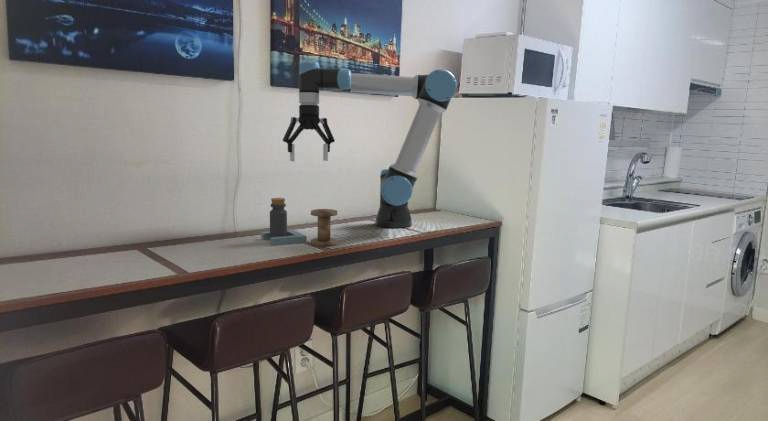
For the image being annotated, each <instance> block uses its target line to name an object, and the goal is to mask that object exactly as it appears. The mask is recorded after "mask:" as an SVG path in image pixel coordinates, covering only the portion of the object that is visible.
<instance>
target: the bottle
mask: <svg viewBox="0 0 768 421" xmlns="http://www.w3.org/2000/svg"><path fill="white" fill-rule="evenodd" d="M270 200H271V203H270V207H271V208H272V209H271V210H270V211H269V231H270V237H281V236H287V230H288V212H287V210H286V209H285V208H286V206H287V205H286V203H285V202H286V198H284V197H273V198H271V199H270Z"/></svg>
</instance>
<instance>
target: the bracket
mask: <svg viewBox="0 0 768 421" xmlns="http://www.w3.org/2000/svg"><path fill="white" fill-rule="evenodd" d="M260 236H261V237H260V238H261V240H262V241H270V242H269V243H270V245H271V246H272V247H275V246H276V247H277V246H278V247H279V246H287V245H296V244H297V245H298V244H307V243H308V242H307V238H308V236H307V235H305V234H303V233H301V232H299V231H297V230H295V229H287V236H281V237H270V230H269V231H261V233H260Z"/></svg>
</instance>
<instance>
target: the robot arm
mask: <svg viewBox="0 0 768 421" xmlns="http://www.w3.org/2000/svg"><path fill="white" fill-rule="evenodd" d="M298 66H299V68H298V103H299V106H298V115H299V116H298V117H296V116H291V117H290V123H289V125H288V127H287V129H286V132H285V133H284V136H283V138H282V142H284V143H286V144H287V152H288V153H289V162H295V143H293V142H294V141H295V140H297V138H298V136H299V135H300V134H301V133H302V132H303V131H304V130H312V131H313V130H314V131H315V132H316V133H317V134H318V136H319V137H320V138H321V140H323V142H324V143H323V144H322V145H323V146H322V147H323V148H322V152H323V153H322V154H323V155H322V157H323V158H322V159H323V160H322V161H324V162H329V161H328V160H329V159H328V158H329V153H330V152H331V144H332V143H335V140H336V139H335V138H334V136H333V133H332V131H331V129H330V127H329V125H328V124H329V123H328V119H327V117H321V118H320V106H319V104H320V89H321V90H332V91H333V92H335V93H359V94H369V95H370V94H373V95H387V96H389V95H390V96H403V97H412V98H413V99H414V100H417V101H418V104H419V106H418V108H417V110H416V113H415V115H414V118H413V120H412V122H411V125H410V127H409V130H408V131H407V134H406V136H405V139H404V141H403V144H402V146H401V148H400V151H399V153H398V155H397V158H396V160H395V163H393V164H390V165H389V167H388V169H387V168H385V169H382V170H381V171H380V175H379V177H380V185H379V186H380V189H379V191H380V192H379V207H378V210H377V214H376V216H375V220H374V221H375V223H374V224H375V226H377V227H381V228H393V229H395V228H396V229H397V228H398V229H399V228H409V227H412V225H413V224H412V223H413V222H412V221H413V220H412V217H411V214H410V213H411V212H410V210H409V200H410V199H411V198H412V196H413V189H414V187H415V184H416V182H417V180H418V174H417V170H418V167H419V165H420V162H421V160H422V158H423V156H424V154H425V151H426V148H427V146H428V144H429V143H430V142H429V141H430V139H431V137H432V135H433V132H434V129H435V127H436V124H437V122H438V121H439V118H440V115H441V114H442V113H445V112H446V111H447V109H448V107H449V105H450V102H451V101H452V100H451V99H452V98H453V97H454V96H455V94H456V92H457V88H458V82H457V79H456V77H455V76H454V74H453V73H452V72H450V71H449V70H447V69H441V68H440V69H439V68H437V69H435V70H432V71H431V72H430V73H429V74H416V75H415V76H404V75H403V76H399V75H389V74H387V75H386V74H384V75H383V74H373V73H371V74H369V73H358V72H357V73H354V72H352V71H351V69H347V68H321V67H320V64H319V62H314V61H313V62H312V61H303V62H300V64H299V65H298ZM297 123H298V124H299V125H298V127H297V128H296V130H295V131H294V129H295V126H296V124H297ZM319 123H320V124H321V126H322V128H323V130H324V131H323V130H322V129H321V126H320V125H319ZM293 131H294V132H293ZM292 133H293V134H292Z"/></svg>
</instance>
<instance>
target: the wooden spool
mask: <svg viewBox="0 0 768 421" xmlns="http://www.w3.org/2000/svg"><path fill="white" fill-rule="evenodd" d="M310 215H311V216H313V217H317V237H315V238H314V237H313V238H311V239H310V245H311V246H315V247H333V246H336V245H337V244H338V239H337V238H333V237H331V220H332V219H331V218H332V217H336V216H337V215H338V210H337V209H330V208H329V209H328V208H318V209H317V208H316V209H312V210H310Z"/></svg>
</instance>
